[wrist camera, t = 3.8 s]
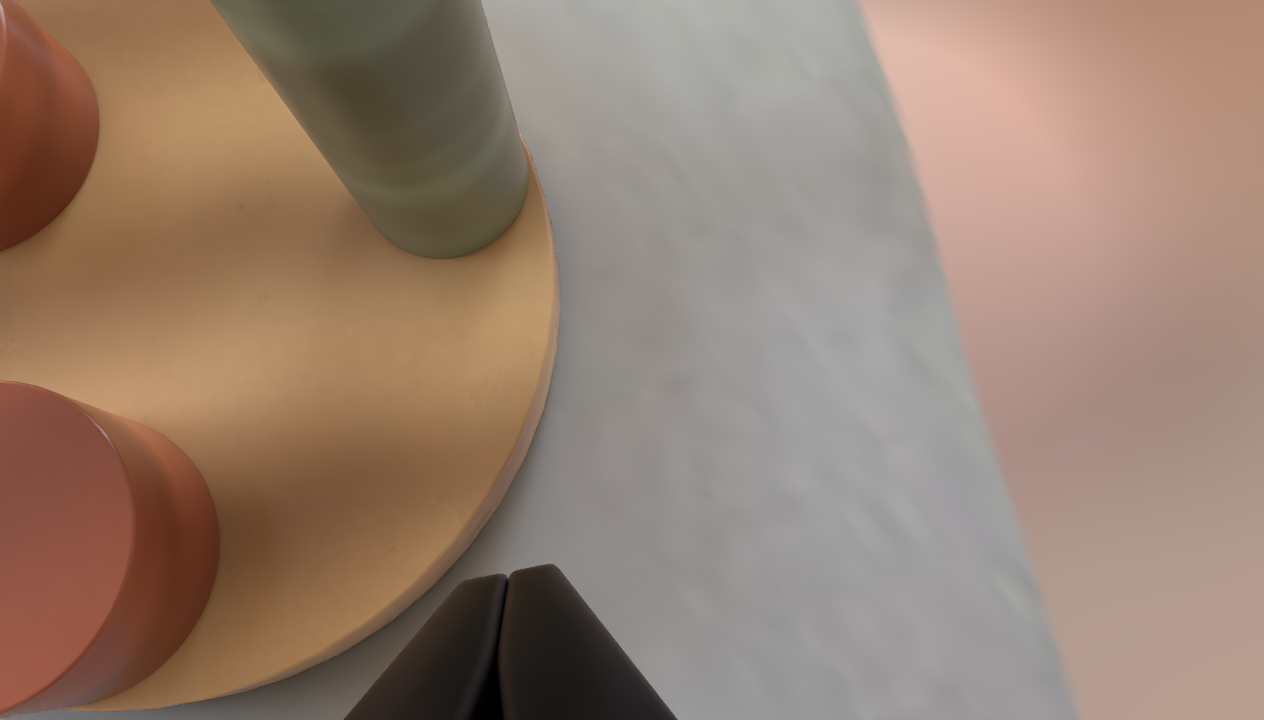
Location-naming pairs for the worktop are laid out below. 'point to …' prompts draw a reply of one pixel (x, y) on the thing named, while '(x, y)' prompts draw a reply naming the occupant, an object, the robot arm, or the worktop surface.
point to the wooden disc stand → (251, 333)
